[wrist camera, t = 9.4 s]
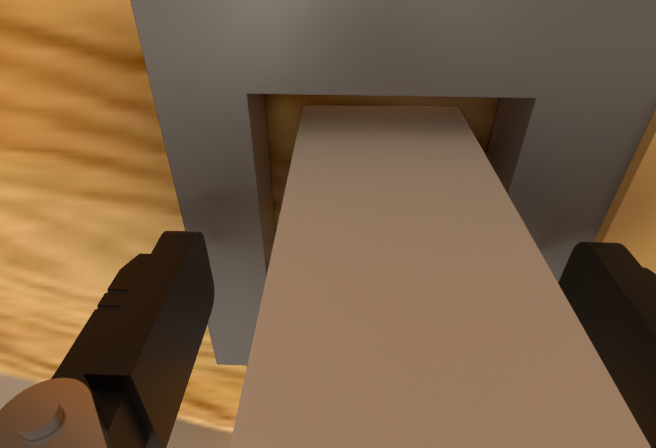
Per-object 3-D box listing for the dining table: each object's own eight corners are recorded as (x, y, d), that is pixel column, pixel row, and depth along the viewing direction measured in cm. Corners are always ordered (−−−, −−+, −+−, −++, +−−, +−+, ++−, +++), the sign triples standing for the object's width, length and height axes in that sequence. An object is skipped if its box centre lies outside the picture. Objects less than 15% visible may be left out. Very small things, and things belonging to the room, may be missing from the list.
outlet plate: (939, -62, 9) (1100, -54, 7) (665, 331, 16) (707, 387, 14) (156, -67, 9) (108, -60, 7) (230, 318, 16) (214, 371, 14)
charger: (457, 106, 11) (695, 526, 4) (433, 245, 14) (538, 651, 6) (303, 105, 11) (217, 508, 4) (308, 243, 14) (265, 638, 6)
